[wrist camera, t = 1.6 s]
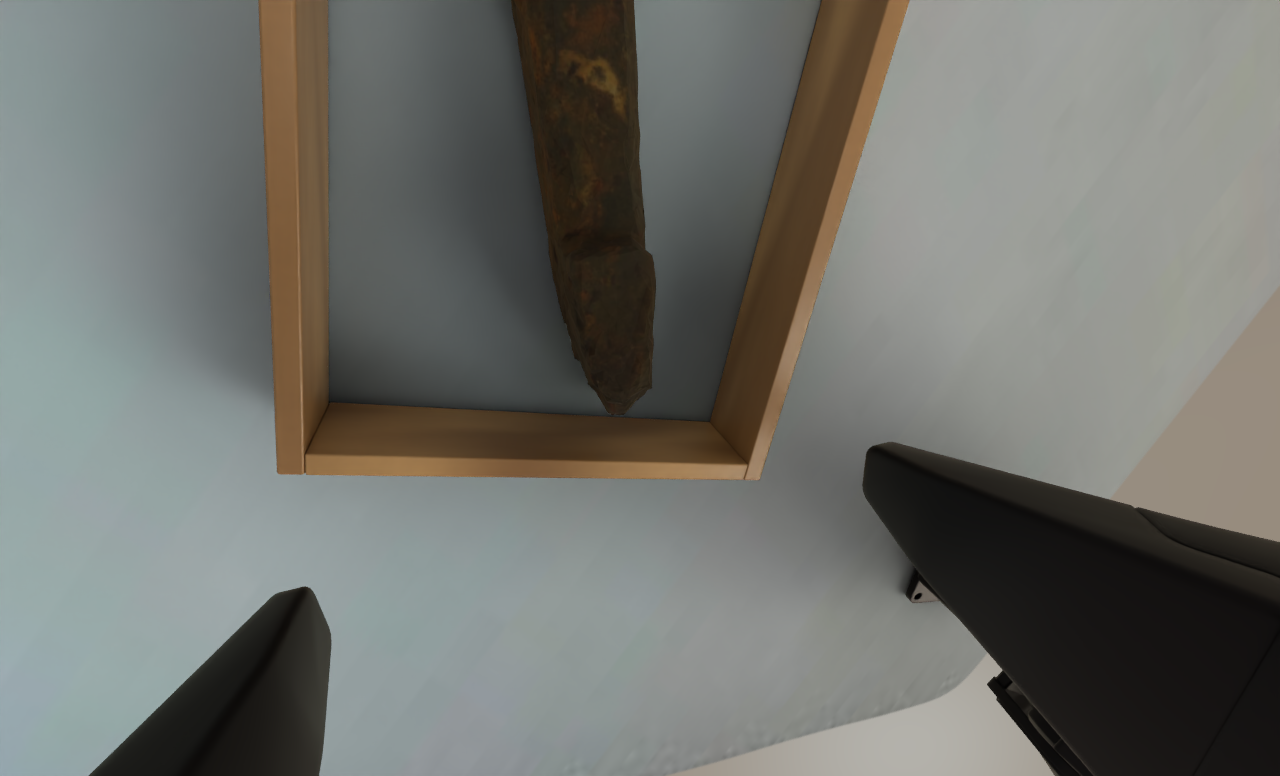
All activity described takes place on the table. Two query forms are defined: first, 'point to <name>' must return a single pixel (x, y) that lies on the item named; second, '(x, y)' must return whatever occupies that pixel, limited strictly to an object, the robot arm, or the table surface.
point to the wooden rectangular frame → (539, 442)
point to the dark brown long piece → (592, 184)
